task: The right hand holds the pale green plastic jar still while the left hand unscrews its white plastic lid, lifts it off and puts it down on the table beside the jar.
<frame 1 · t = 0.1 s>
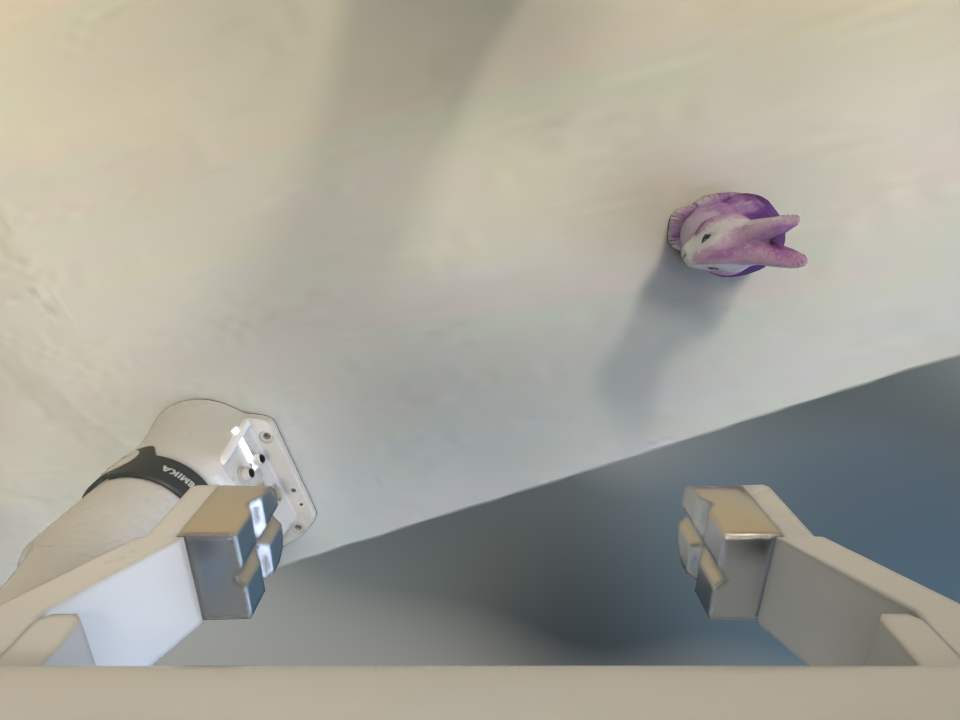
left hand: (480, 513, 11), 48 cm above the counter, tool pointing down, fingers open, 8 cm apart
figurine: (707, 234, 56), on the counter
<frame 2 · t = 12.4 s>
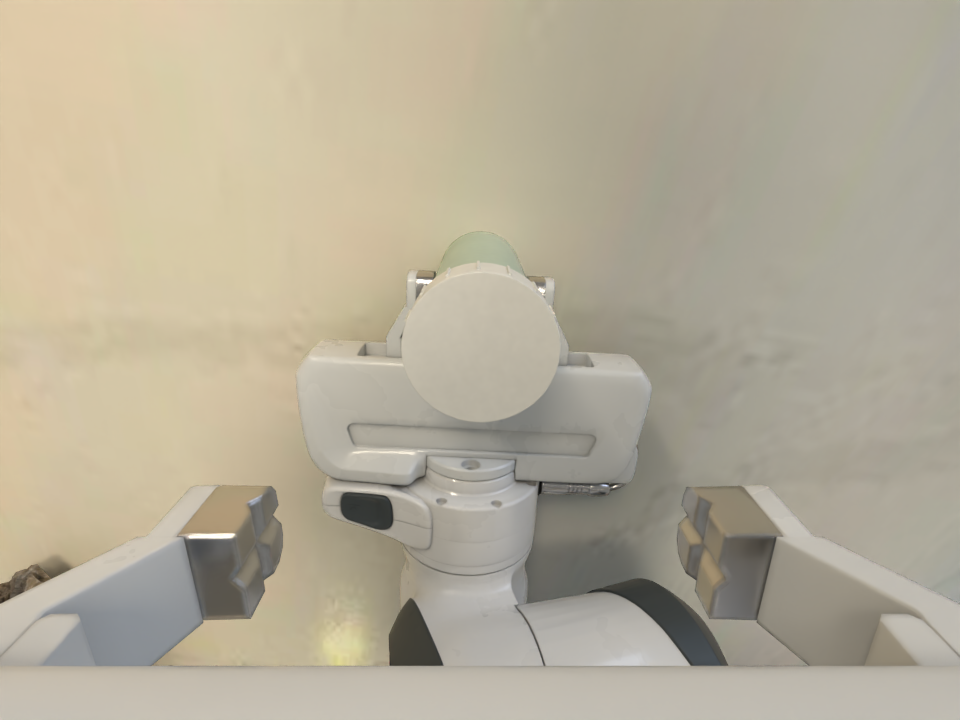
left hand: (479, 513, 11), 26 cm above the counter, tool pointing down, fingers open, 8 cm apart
right hand: (480, 274, 29), fingers closed on jar, 5 cm apart
fossil: (85, 643, 46), on the counter
lid: (480, 348, 20), point 15 cm above the counter, screwed on, not yet turned
jar: (480, 271, 35), on the counter, touching right hand
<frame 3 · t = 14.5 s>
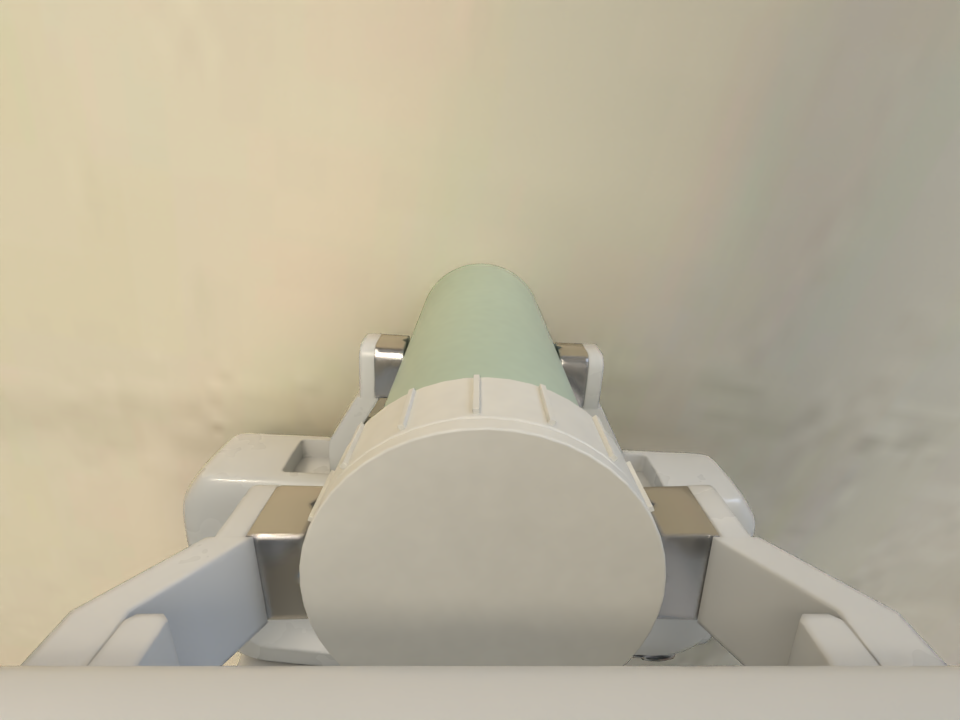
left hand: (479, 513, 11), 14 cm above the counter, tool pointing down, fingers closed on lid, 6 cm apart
lid: (482, 575, 9), point 15 cm above the counter, screwed on, not yet turned, touching left hand
jar: (480, 321, 23), on the counter, touching right hand
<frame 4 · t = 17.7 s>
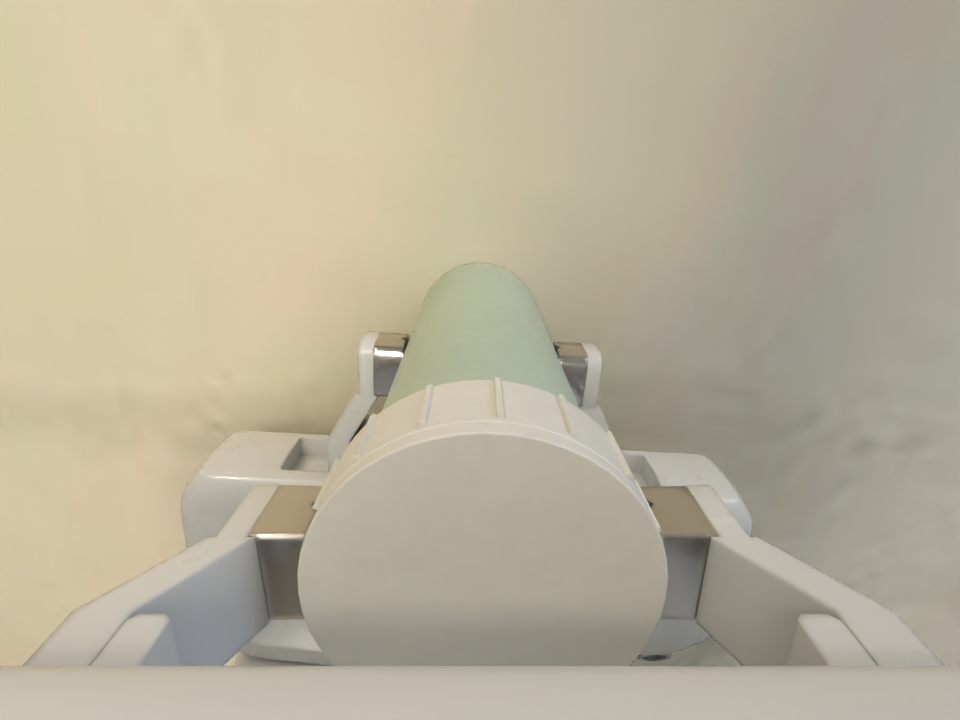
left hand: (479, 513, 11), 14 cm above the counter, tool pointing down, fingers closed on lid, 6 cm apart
lid: (482, 580, 9), point 16 cm above the counter, turned 83° so far, risen 0.1 cm, still on its thread, touching left hand
jar: (479, 321, 24), on the counter, touching right hand
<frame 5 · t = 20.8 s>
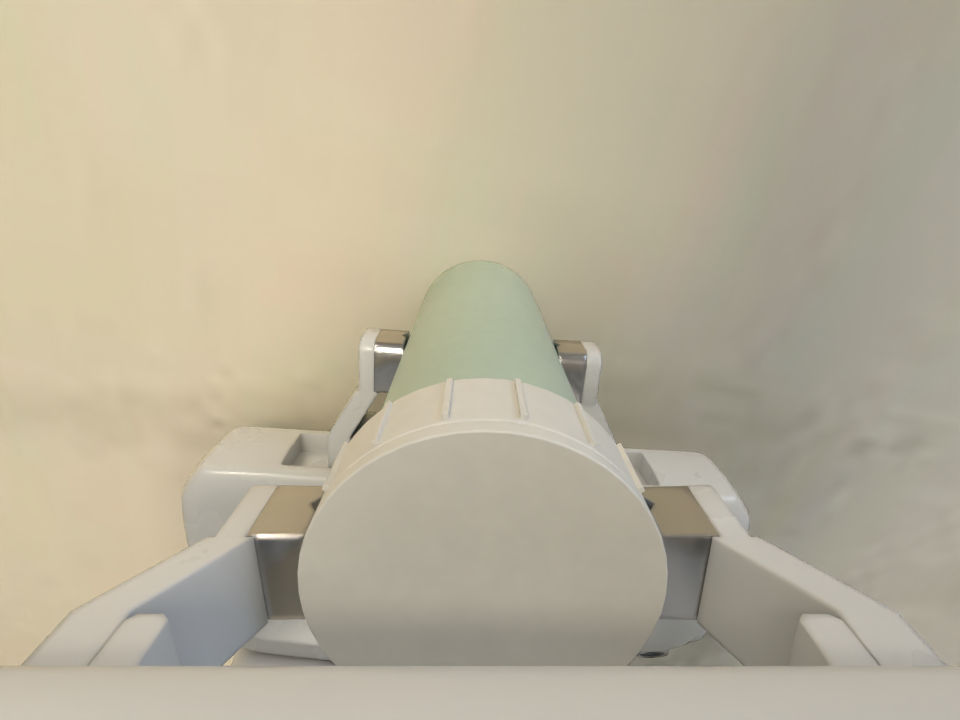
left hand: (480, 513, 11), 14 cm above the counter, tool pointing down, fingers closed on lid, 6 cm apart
lid: (482, 578, 9), point 16 cm above the counter, turned 167° so far, risen 0.2 cm, still on its thread, touching left hand
jar: (479, 318, 24), on the counter, touching right hand
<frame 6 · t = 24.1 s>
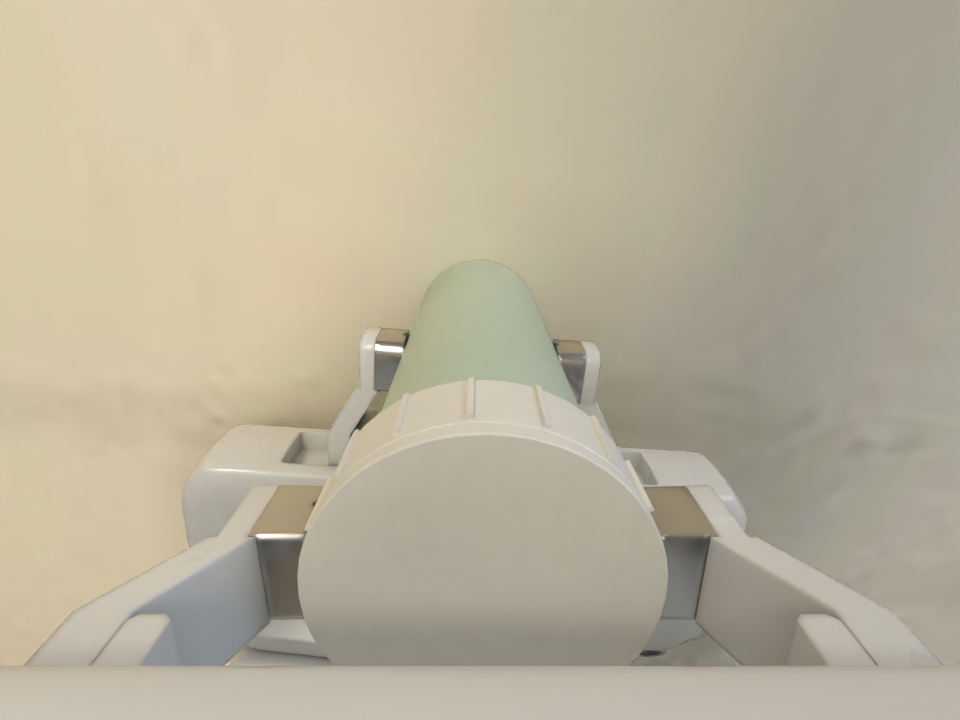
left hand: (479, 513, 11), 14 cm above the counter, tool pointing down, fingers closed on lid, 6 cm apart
lid: (482, 580, 9), point 16 cm above the counter, turned 250° so far, risen 0.4 cm, still on its thread, touching left hand
jar: (478, 318, 24), on the counter, touching right hand
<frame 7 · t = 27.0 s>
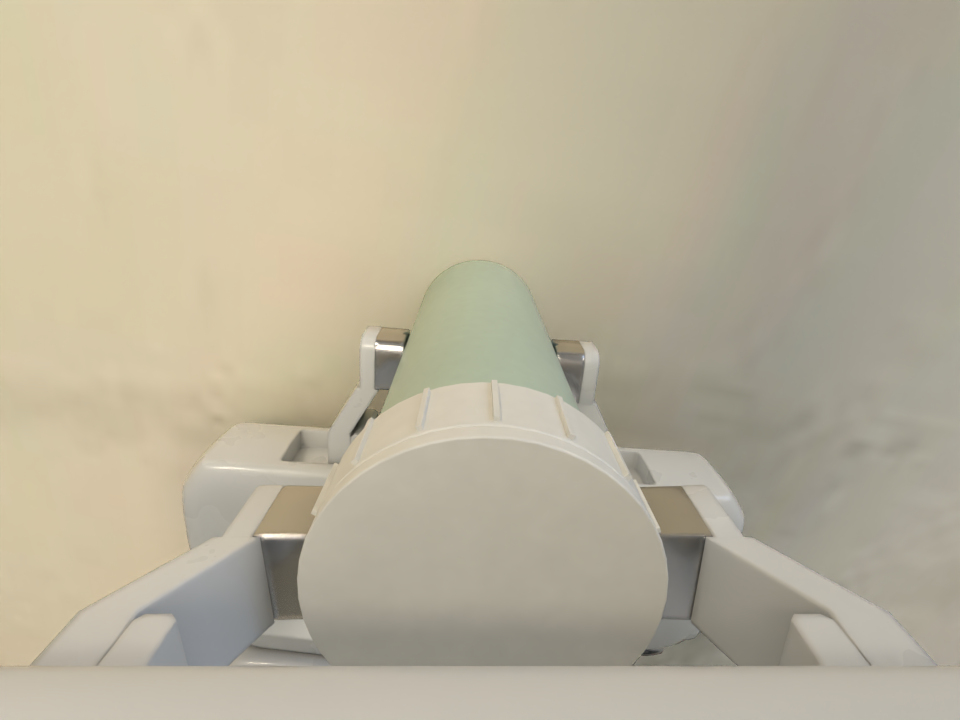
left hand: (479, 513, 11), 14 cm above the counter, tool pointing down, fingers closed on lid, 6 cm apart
lid: (482, 583, 9), point 16 cm above the counter, turned 332° so far, risen 0.5 cm, still on its thread, touching left hand
jar: (478, 317, 24), on the counter, touching right hand
when the left hand's fingers open (2 cm above the counter, at t = 33.2 s): lid drops 2 cm, point 2 cm above the counter.
when the right hand's fingers open (6 cm above the counter, at t = 34.2 s): jar stays where it is, on the counter.
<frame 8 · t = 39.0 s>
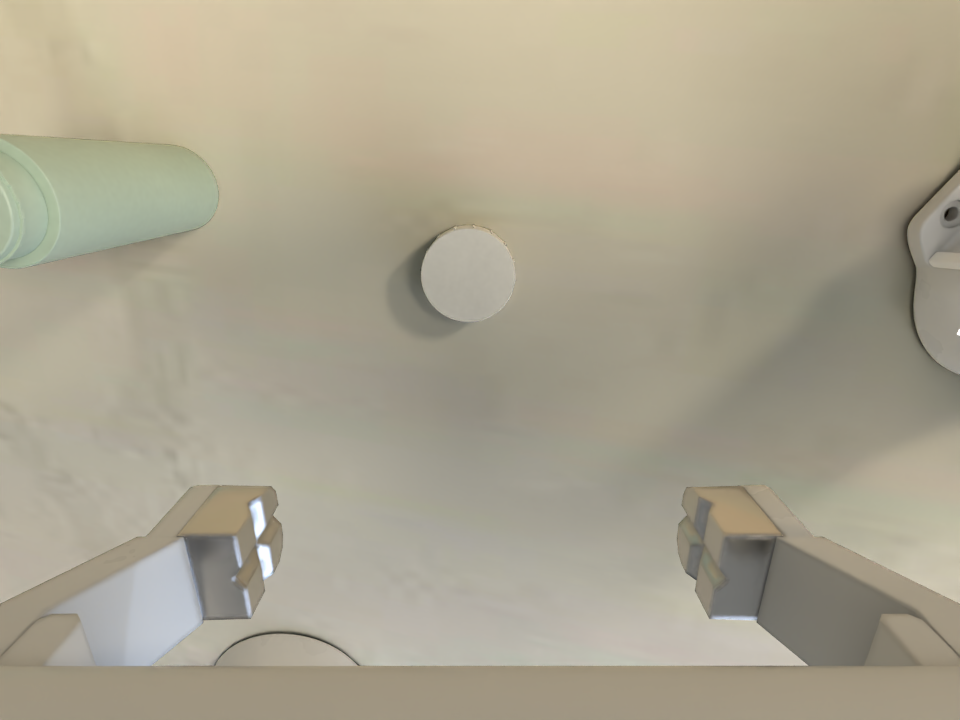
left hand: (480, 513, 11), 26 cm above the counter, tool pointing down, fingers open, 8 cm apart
lid: (468, 275, 34), point 2 cm above the counter, off its thread
jar: (177, 188, 34), on the counter
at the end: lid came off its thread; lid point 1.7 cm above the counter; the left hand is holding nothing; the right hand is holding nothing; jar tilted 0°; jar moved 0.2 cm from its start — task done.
